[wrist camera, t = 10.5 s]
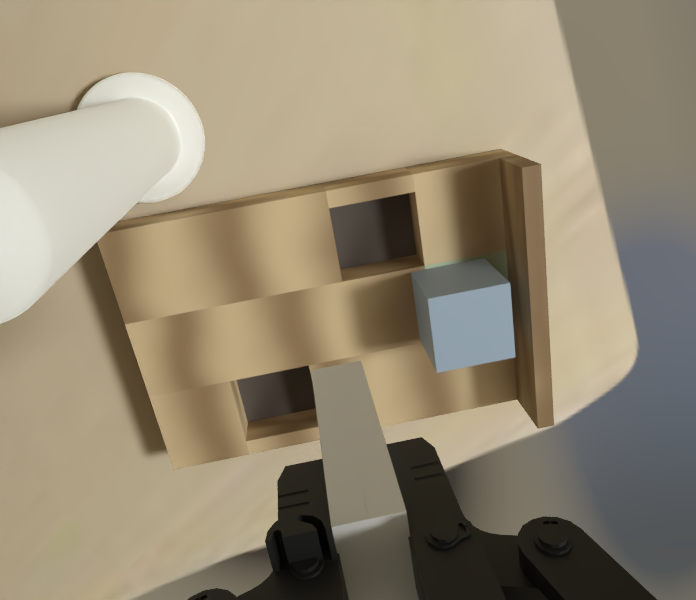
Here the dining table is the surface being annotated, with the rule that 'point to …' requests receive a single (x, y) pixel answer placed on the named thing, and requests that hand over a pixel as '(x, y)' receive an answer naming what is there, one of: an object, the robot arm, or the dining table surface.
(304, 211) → the board
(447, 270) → the block
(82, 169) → the candle
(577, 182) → the dining table surface
